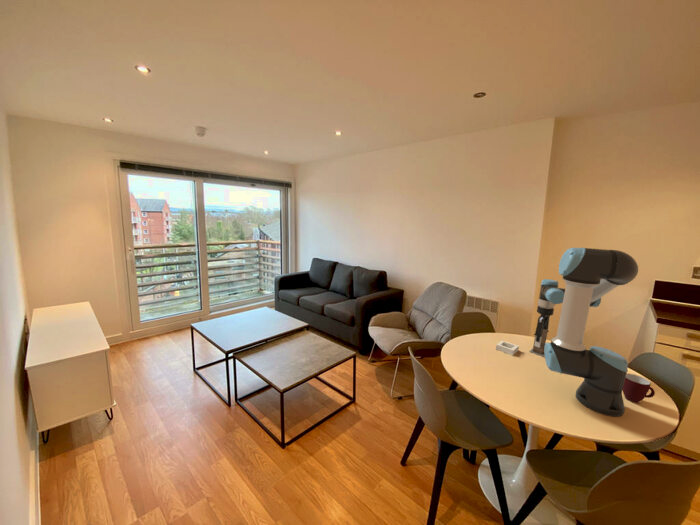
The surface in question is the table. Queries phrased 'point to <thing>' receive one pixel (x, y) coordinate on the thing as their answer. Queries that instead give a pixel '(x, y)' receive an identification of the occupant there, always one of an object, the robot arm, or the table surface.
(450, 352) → the table surface
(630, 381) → the mug
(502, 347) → the socket block
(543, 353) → the mat
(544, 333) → the peg
